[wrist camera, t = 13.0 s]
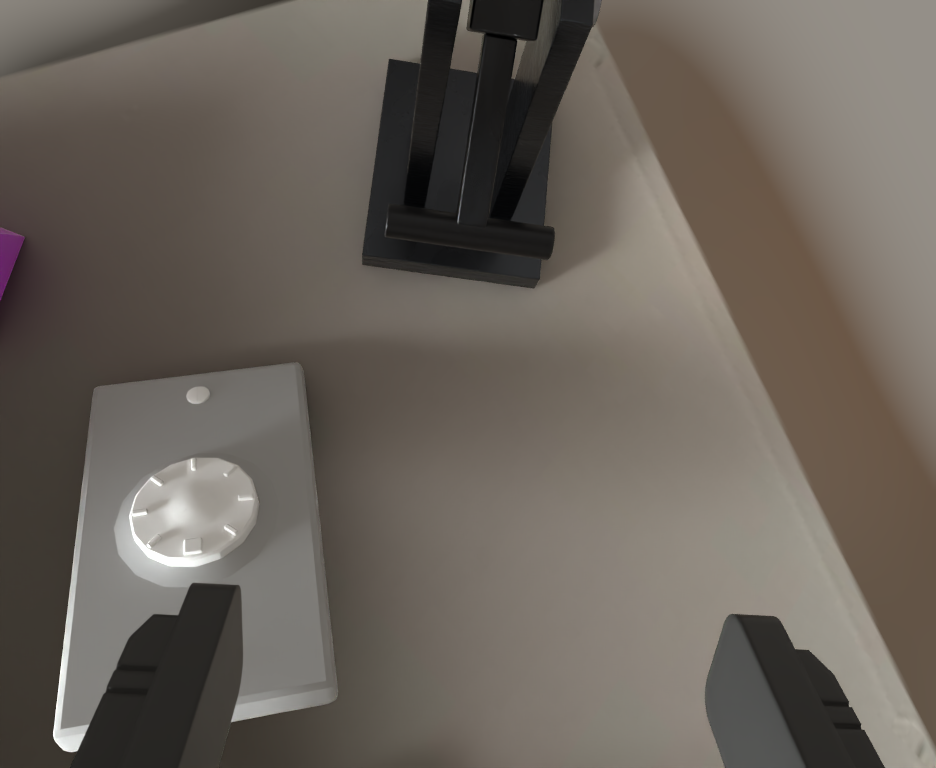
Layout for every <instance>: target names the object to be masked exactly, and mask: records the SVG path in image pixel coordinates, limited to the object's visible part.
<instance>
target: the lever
mask: <svg viewBox="0 0 936 768" xmlns="http://www.w3.org/2000/svg"><path fill="white" fill-rule="evenodd" d="M543 2H544V0H470V5H469V12H468V19H467V27H466V29H467V31H470V32H476V33H482V34H484V35H483V37H482V44H481V51H480V57H479V64H478V71H477V77H476V84H475V91H474V98H473V104H472V111H471V118H470V125H469V131H468V138H467V145H466V152H465V158H464V165H463V172H462V179H461V185H460V192H459V199H458V206H457V212H456V213H453V212H446V211H439V210H432V209H425V208H418V207H411V206H405V205H398V204H391V203H390V204H389V205H388V211H387V218H386V227H385V237H387V238H394V239H401V240H408V241H415V242H422V243H429V244H437V245H444V246H451V247H458V248H465V249H472V250H479V251H486V252H493V253H500V254H507V255H514V256H521V257H528V258H536V259H543V260H549V259H550V257H551V254H552V251H553V246H554V239H555V231H554V228H553V227H549V226H542V225H535V224H528V223H521V222H514V221H508V220H501V219H494V218H489V212H490V206H491V200H492V194H493V188H494V182H495V175H496V169H497V163H498V157H499V151H500V145H501V139H502V132H503V126H504V120H505V114H506V108H507V102H508V95H509V89H510V83H511V77H512V71H513V65H514V59H515V52H516V46H517V40H523V41H535V40H537V37H538V32H539V26H540V20H541V14H542V8H543Z"/></svg>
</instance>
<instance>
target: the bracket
mask: <svg viewBox="0 0 936 768" xmlns="http://www.w3.org/2000/svg"><path fill="white" fill-rule="evenodd" d="M601 1H602V0H544V2H543V8H542V14H541V20H540V26H539V32H538V37H537V40H535V41H526V45H525V48H524V51H523V54H522V57H521V61H520V64H519V67H518V70H517V74H516V77H515V79H511V83H510V89H509V95H508V102H507V108H506V114H505V120H504V126H503V132H502V139H501V145H500V151H499V157H498V163H497V169H496V175H495V182H494V188H493V194H492V200H491V206H490V212H489V218H494V219H501V220H508V221H514V222H521V223H528V224H535V225H542V226H544V220H545V208H546V195H547V182H548V169H549V157H550V144H551V131H552V121H553V119H554V116H555V114H556V111H557V109H558V107H559V104H560V102H561V100H562V97H563V95H564V92H565V90H566V88H567V85H568V83H569V80H570V78H571V76H572V73H573V71H574V68H575V66H576V64H577V61H578V59H579V56H580V54H581V52H582V49H583V47H584V44H585V42H586V40H587V37H588V35H589V32H590V30H591V28H593V27H594V25H595V23H596V21H597V18H598V14H599V11H600V5H601ZM461 4H462V0H428V4H427V13H426V21H425V29H424V37H423V45H422V54H421V62H420V64H418V63H412V62H406V61H400V60H394V59H389V63H388V70H387V77H386V85H385V92H384V99H383V107H382V114H381V121H380V129H379V136H378V143H377V151H376V158H375V165H374V173H373V180H372V187H371V195H370V202H369V209H368V217H367V224H366V231H365V239H364V246H363V253H362V265H368V266H375V267H382V268H389V269H397V270H404V271H411V272H418V273H426V274H433V275H440V276H447V277H455V278H462V279H469V280H476V281H484V282H491V283H498V284H505V285H513V286H520V287H527V288H535V286H536V285H537V283H538V281H539V280H540V271H541V259H536V258H528V257H521V256H514V255H507V254H500V253H493V252H486V251H479V250H472V249H465V248H458V247H451V246H444V245H437V244H429V243H422V242H415V241H408V240H401V239H394V238H387V237H385V227H386V218H387V211H388V205H389V204H390V203H391V204H398V205H405V206H411V207H418V208H425V209H432V210H439V211H446V212H453V213H456V212H457V206H458V199H459V192H460V185H461V179H462V172H463V165H464V158H465V152H466V145H467V138H468V131H469V125H470V118H471V111H472V104H473V98H474V91H475V84H476V77H477V73H474V72H468V71H461V70H455V69H450V65H451V60H452V54H453V48H454V43H455V37H456V32H457V26H458V21H459V15H460V9H461Z"/></svg>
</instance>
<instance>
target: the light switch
mask: <svg viewBox="0 0 936 768" xmlns="http://www.w3.org/2000/svg"><path fill="white" fill-rule="evenodd" d="M254 485H255V487H254ZM255 488H256V490H255ZM256 492H257V493H256ZM257 495H258V496H257ZM258 498H259V500H258ZM259 501H260V504H259ZM192 583H211V584H229V585H239V586H240V588H241V598H242V631H243V668H242V677H241V684H240V689H239V694H238V698H237V702H236V706H235V709H234V713H233V717H232V720H231V722H234V721H239V720H245V719H250V718H255V717H261V716H266V715H271V714H277V713H282V712H287V711H293V710H298V709H303V708H308V707H314V706H319V705H324V704H330V703H331V702H333V701H335V700H336V698H337V695H338V687H337V677H336V668H335V658H334V649H333V640H332V630H331V621H330V612H329V602H328V593H327V583H326V574H325V565H324V555H323V546H322V537H321V527H320V518H319V508H318V499H317V490H316V480H315V471H314V462H313V452H312V443H311V433H310V424H309V415H308V405H307V396H306V387H305V378H304V372H303V368H302V367H301V365H300V364H299V363H296V362H294V363H286V364H278V365H269V366H261V367H253V368H245V369H236V370H228V371H220V372H212V373H204V374H195V375H187V376H179V377H171V378H162V379H154V380H146V381H138V382H130V383H121V384H113V385H105V386H99V387H96V388H95V389H94V391H93V396H92V405H91V413H90V422H89V430H88V439H87V448H86V456H85V465H84V473H83V482H82V491H81V499H80V508H79V516H78V525H77V534H76V542H75V551H74V559H73V568H72V577H71V585H70V594H69V602H68V611H67V620H66V628H65V637H64V645H63V654H62V663H61V671H60V680H59V688H58V697H57V706H56V714H55V723H54V731H53V736H54V739H55V742H56V743H57V744H58V745H59V746H60V747H61V748H62V749H63V750H64V751H67V752H75V751H78V749H79V746H80V744H81V742H82V740H83V738H84V735H85V733H86V731H87V729H88V727H89V724H90V722H91V720H92V718H93V716H94V713H95V711H96V709H97V707H98V705H99V702H100V700H101V698H102V696H103V694H104V693H106V687H107V685H108V683H109V680H110V678H111V676H112V674H113V672H114V670H116V667H117V663H118V661H119V658H120V656H121V654H122V652H123V650H124V647H125V645H126V643H127V641H128V639H129V637H130V636H131V635H132V634H133V633H134V632H135V631H136V630H137V629H138V628H139V627H140V626H141V625H142V624H143V623H145V622H146V621H147V620H148V619H149V618H150V617H151V616H152V615H153V614H165V615H178V614H179V612H180V609H181V606H182V604H183V601H184V599H185V596H186V594H187V591H188V589H189V587H190V585H191V584H192Z"/></svg>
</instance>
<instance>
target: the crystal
mask: <svg viewBox="0 0 936 768" xmlns="http://www.w3.org/2000/svg"><path fill="white" fill-rule="evenodd" d="M24 239H25V237H24V236H22V235H19V234H17V233H14V232H11V231H9V230H6V229H4V228H1V227H0V300H1V297H2V295H3V292H4V290H5V287H6V285H7V282H8V280H9V277H10V274H11V272H12V269H13V267H14V264H15V262H16V259H17V256H18V254H19V251H20V249H21V246H22V244H23V241H24Z"/></svg>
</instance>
